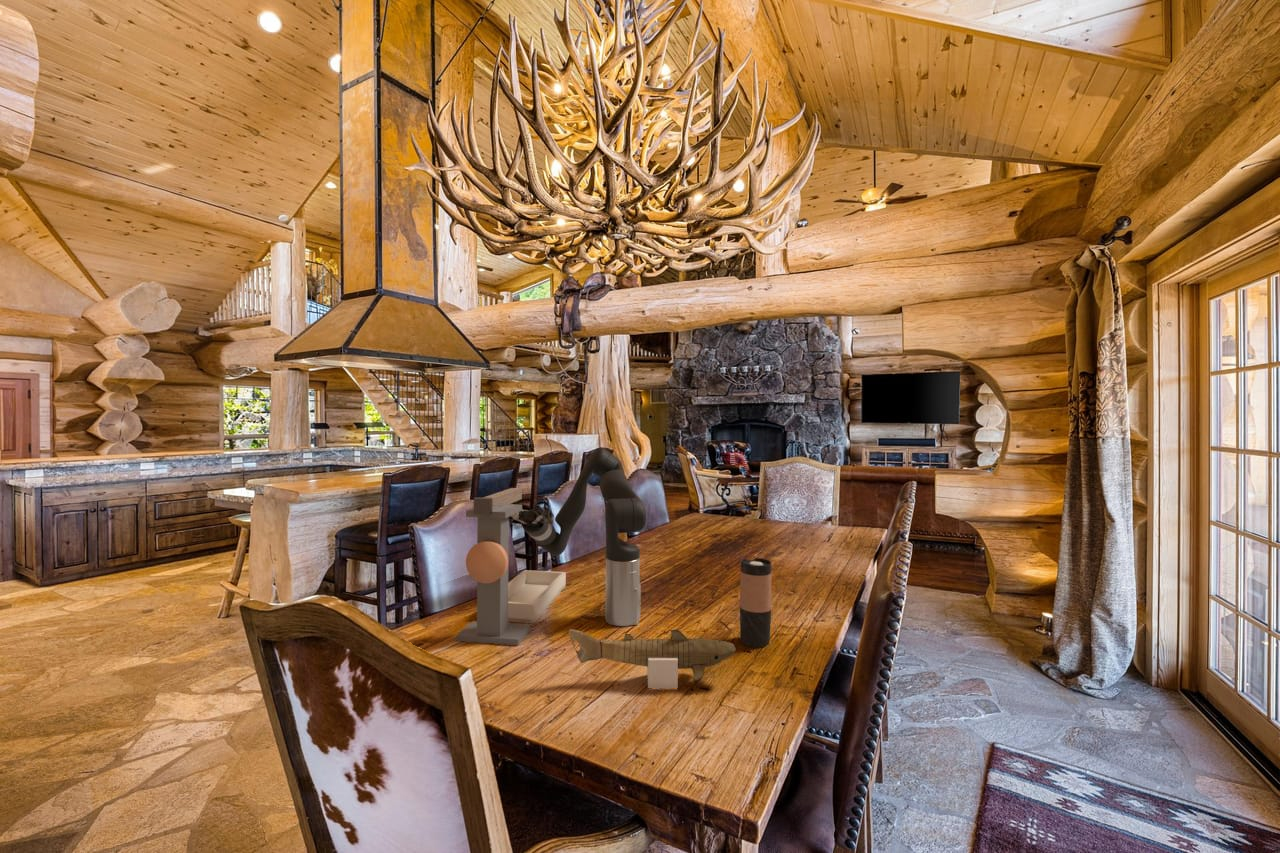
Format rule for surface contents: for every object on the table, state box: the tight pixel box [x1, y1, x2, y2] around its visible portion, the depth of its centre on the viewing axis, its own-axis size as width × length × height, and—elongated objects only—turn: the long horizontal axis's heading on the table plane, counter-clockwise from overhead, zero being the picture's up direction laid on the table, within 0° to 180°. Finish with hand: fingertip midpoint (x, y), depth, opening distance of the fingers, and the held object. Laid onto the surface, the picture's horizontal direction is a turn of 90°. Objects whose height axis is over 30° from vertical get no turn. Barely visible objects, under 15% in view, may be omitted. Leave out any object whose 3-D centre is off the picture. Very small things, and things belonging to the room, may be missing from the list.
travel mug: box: [739, 557, 772, 648], centre depth 130 cm, size 8×8×20 cm
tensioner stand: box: [455, 503, 532, 647], centre depth 132 cm, size 16×11×32 cm
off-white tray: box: [508, 569, 567, 624], centre depth 157 cm, size 14×30×5 cm, turn 172°
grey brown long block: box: [473, 487, 523, 515], centre depth 135 cm, size 4×22×4 cm, turn 172°
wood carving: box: [568, 629, 736, 690], centre depth 110 cm, size 9×35×11 cm, turn 91°
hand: (521, 506), depth 149 cm, fingers open, 8 cm apart
